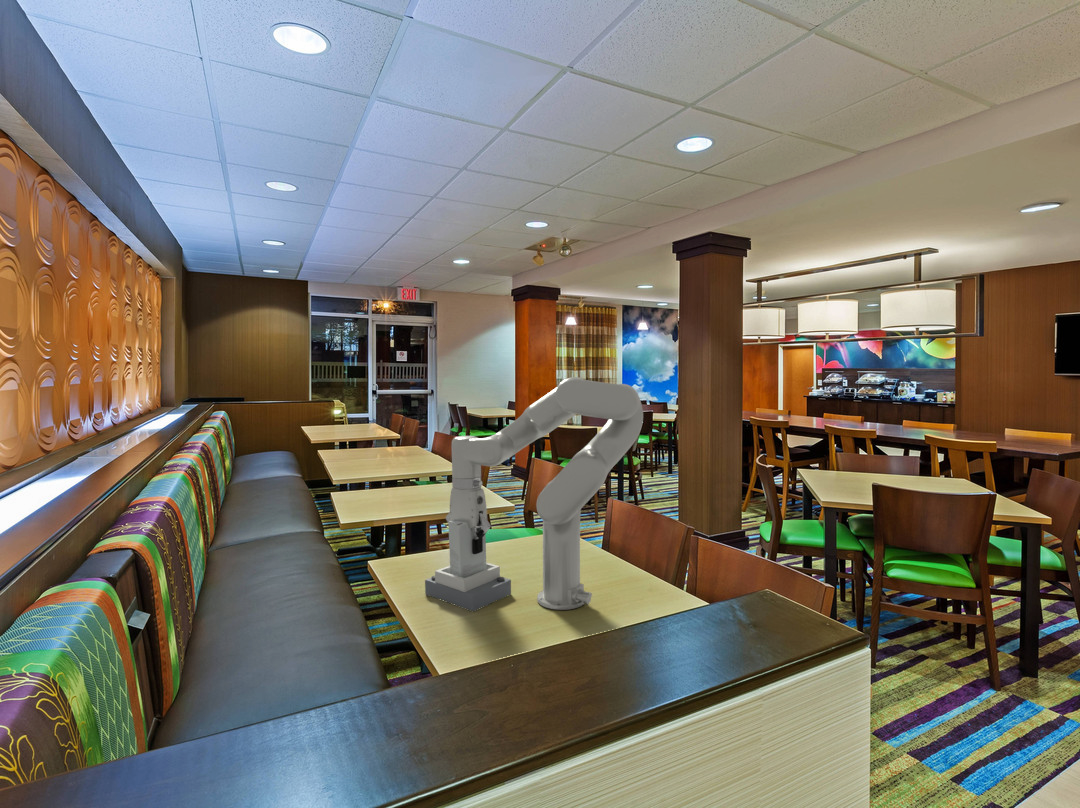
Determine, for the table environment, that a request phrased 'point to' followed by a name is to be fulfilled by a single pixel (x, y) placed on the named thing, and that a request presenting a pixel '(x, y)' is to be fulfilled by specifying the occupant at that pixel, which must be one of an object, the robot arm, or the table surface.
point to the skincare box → (464, 551)
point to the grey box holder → (469, 587)
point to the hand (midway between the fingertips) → (467, 549)
